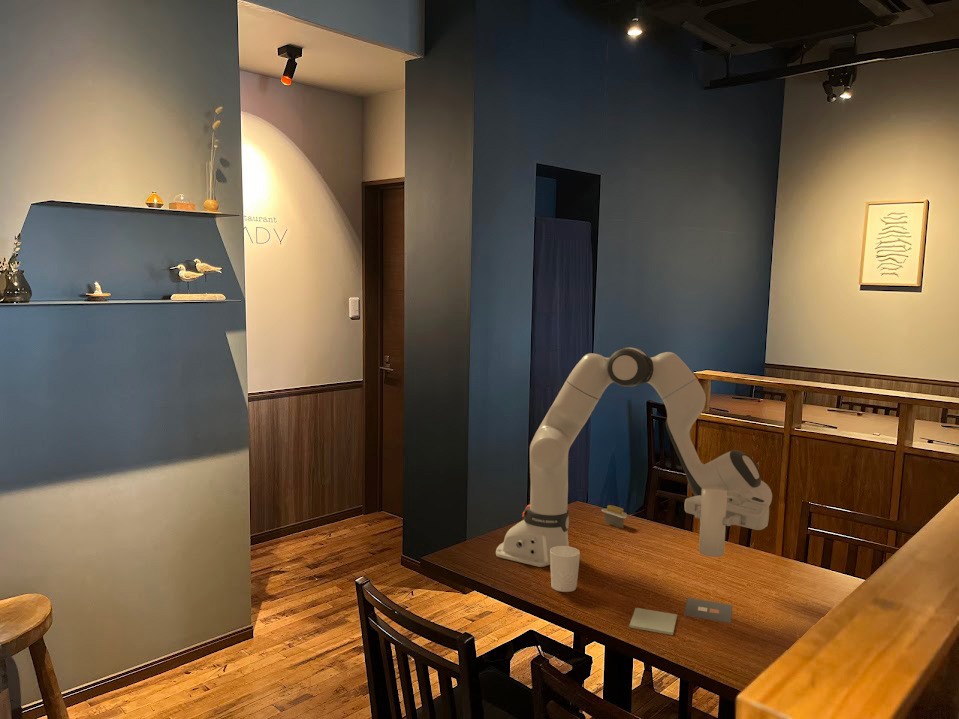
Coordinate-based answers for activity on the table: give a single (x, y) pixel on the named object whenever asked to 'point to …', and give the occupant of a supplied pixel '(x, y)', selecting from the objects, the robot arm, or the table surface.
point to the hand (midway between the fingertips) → (711, 518)
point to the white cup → (564, 568)
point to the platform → (614, 516)
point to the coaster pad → (653, 621)
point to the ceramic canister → (712, 521)
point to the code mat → (708, 610)
